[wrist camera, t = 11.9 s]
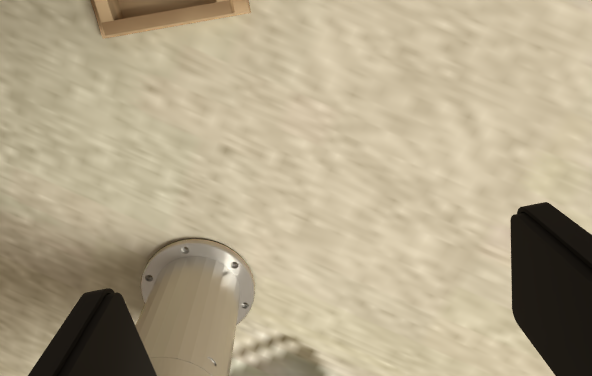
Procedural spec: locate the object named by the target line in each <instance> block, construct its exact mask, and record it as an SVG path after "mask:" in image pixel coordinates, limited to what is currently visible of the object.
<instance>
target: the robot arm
mask: <svg viewBox="0 0 592 376" xmlns="http://www.w3.org/2000/svg"><path fill="white" fill-rule="evenodd" d="M186 247H187V248H186ZM511 269H512V310H513V315H514V318H515V320H516V322H517V324H518V325H519V327H520V328H521V329H522V331H523V332H524V333H525V335H526V336H527V337H528V339H529V340H530V342H531V343H532V344H533V346H534V347H535V348H536V350H537V351H538V352H539V354H540V355H541V356H542V358H543V359H544V360H545V362H546V363H547V365H548V366H549V367H550V369H551V370H552V371H553V373H554V374H555V375H556V376H592V235H591V234H590V233H588V232H587V231H586V230H584V229H583V228H582V227H580V226H579V225H578V224H576V223H575V222H573V221H572V220H571V219H569V218H568V217H567V216H565V215H564V214H563V213H561V212H560V211H559V210H557V209H556V208H555V207H553V206H552V205H551V204H549V203H547V202H544V203H539V204H534V205H529V206H524V207H520V208H519V209H518V212H517V214H516V215H513V216H512V217H511ZM141 293H142V297H143V300H144V303H145V305H144V308H143V310H142V312H141V314H140V317H139V319H138V321H137V323H136V325H135V324H134V322H133V320H132V317H131V315H130V313H129V311H128V308H127V306H126V304H125V301H124V299H123V297H122V295H121V294H120V293H114V291H113V290H112V289H109V288H107V289H102V290H97V291H92V292H87V293H84V294H83V295H82V296H81V298H80V299H79V301H78V302H77V304H76V305H75V307H74V308H73V310H72V311H71V313H70V314H69V316H68V317H67V319H66V320H65V322H64V323H63V325H62V326H61V328H60V329H59V331H58V332H57V333H56V335H55V336H54V338H53V339H52V341H51V342H50V344H49V345H48V347H47V348H46V350H45V351H44V353H43V354H42V356H41V357H40V359H39V360H38V362H37V363H36V365H35V366H34V368H33V369H32V371H31V372H30V373H29V375H28V376H229V373H230V365H231V358H232V351H233V344H234V337H235V330H236V325H237V324H239V323H240V322H241V321H242V320H243V319H244V318H245V317H246V316H247V314H248V313H249V311H250V309H251V307H252V304H253V301H254V294H255V283H254V278H253V274H252V272H251V270H250V268H249V266H248V265H247V264H246V262H245V261H244V260H243V258H241V257H240V256H239V255H238V254H237V253H236V252H235V251H233V250H231V249H230V248H228V247H226V246H224V245H222V244H219V243H217V242H213V241H209V240H203V239H188V240H181V241H178V242H174V243H171V244H169V245H167V246H165V247H163V248H162V249H161V250H159V251H158V252H157V253H156V254H155V255H154V256H153V257H152V258H151V259H150V261H149V262H148V264H147V266H146V268H145V270H144V272H143V275H142V279H141Z"/></svg>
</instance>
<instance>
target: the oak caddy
mask: <svg viewBox="0 0 592 376" xmlns="http://www.w3.org/2000/svg"><path fill="white" fill-rule="evenodd" d="M91 3H92V6H93V9H94V12H95V15H96V19H97V22H98V25H99V28H100V31H101V34H102V37H103V39H104V38H109V37H115V36H121V35H127V34H132V33H138V32H144V31H150V30H155V29H161V28H167V27H172V26H178V25H184V24H190V23H195V22H201V21H207V20H213V19H218V18H224V17H230V16H236V15H241V14H247V13H251V11H250V5H249V0H91Z"/></svg>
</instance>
